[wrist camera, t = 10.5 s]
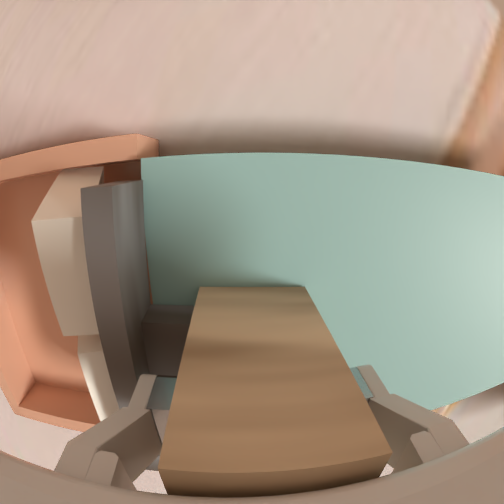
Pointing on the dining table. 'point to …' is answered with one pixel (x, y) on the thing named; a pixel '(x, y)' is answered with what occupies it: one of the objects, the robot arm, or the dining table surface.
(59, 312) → the tile
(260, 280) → the board
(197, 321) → the scraper
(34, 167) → the tray
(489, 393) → the dining table surface
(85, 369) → the tile
